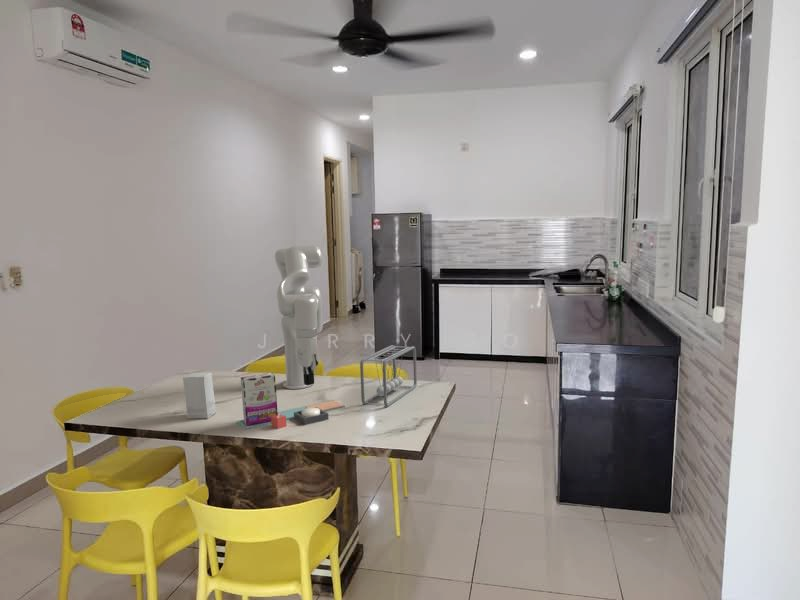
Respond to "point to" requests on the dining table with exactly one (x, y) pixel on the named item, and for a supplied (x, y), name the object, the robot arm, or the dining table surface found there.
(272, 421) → the red die
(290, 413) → the track
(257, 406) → the candy bar box
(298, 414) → the frame
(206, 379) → the skincare box
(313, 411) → the popper cap
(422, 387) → the dining table surface
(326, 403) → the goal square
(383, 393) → the newton's cradle
